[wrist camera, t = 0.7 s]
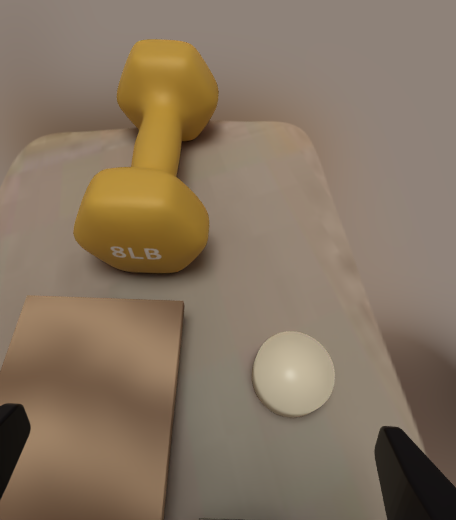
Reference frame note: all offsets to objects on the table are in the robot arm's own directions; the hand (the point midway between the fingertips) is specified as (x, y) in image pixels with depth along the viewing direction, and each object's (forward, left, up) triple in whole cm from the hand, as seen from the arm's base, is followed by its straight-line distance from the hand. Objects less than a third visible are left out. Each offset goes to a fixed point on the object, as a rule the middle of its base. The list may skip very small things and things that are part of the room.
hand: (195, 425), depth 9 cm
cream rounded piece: (+4, -5, -14) cm, 15 cm away
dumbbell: (+20, +5, -14) cm, 25 cm away
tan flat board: (+2, +7, -13) cm, 15 cm away
